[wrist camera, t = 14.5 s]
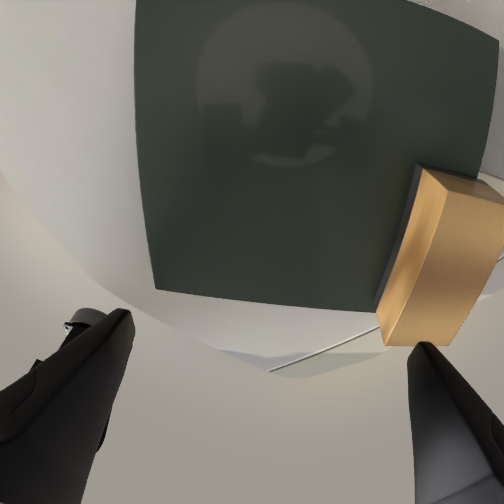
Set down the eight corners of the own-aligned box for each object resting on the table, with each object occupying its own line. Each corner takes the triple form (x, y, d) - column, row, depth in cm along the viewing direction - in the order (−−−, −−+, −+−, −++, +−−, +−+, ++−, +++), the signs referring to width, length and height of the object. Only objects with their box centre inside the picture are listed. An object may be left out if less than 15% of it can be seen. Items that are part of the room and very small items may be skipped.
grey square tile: (489, 230, 17) (492, 233, 17) (450, 221, 17) (453, 224, 17) (507, 181, 15) (510, 184, 14) (468, 167, 15) (471, 169, 15)
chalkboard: (417, 302, 21) (422, 315, 20) (162, 276, 23) (155, 289, 21) (486, 40, 10) (499, 40, 9) (148, -8, 11) (136, -13, 10)
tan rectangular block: (431, 305, 19) (448, 346, 16) (373, 301, 20) (383, 346, 16) (482, 179, 14) (518, 209, 11) (415, 162, 14) (447, 190, 11)
